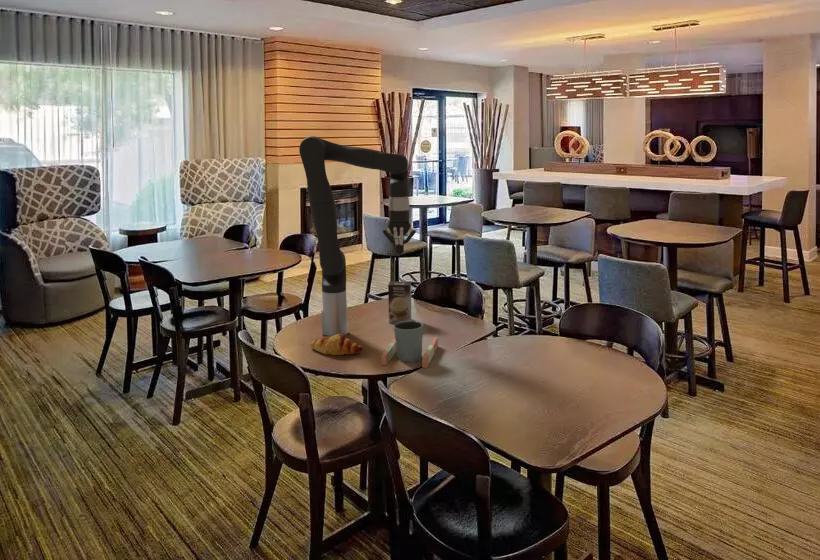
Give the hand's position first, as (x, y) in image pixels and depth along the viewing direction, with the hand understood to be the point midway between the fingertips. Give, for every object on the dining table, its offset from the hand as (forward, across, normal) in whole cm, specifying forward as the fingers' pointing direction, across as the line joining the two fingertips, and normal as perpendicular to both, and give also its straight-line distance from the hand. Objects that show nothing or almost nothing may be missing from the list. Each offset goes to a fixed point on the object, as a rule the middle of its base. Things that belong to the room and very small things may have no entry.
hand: (400, 254), depth 254 cm
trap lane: (+31, +9, -25) cm, 41 cm away
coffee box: (+31, -4, +15) cm, 35 cm away
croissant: (+31, -18, -25) cm, 44 cm away
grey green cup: (+31, +9, -28) cm, 43 cm away
